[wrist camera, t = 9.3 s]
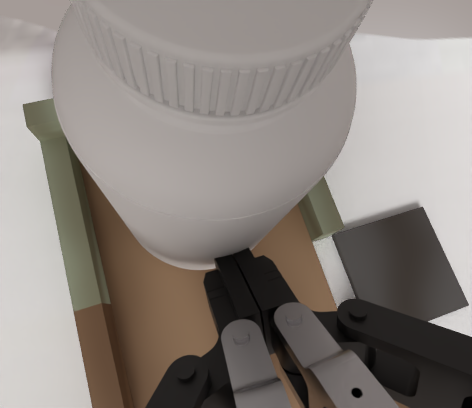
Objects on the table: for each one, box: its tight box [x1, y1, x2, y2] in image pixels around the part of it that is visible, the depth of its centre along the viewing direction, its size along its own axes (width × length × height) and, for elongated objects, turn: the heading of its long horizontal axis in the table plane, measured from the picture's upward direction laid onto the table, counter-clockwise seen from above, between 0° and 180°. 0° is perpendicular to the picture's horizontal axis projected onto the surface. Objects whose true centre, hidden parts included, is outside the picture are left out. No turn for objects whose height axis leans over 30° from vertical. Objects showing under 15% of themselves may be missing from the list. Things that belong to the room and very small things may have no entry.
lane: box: [23, 99, 469, 408], centre depth 16 cm, size 26×28×4 cm
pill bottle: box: [52, 0, 373, 270], centre depth 13 cm, size 8×8×15 cm
